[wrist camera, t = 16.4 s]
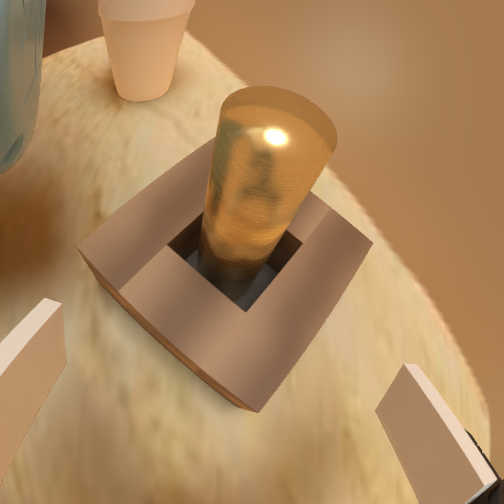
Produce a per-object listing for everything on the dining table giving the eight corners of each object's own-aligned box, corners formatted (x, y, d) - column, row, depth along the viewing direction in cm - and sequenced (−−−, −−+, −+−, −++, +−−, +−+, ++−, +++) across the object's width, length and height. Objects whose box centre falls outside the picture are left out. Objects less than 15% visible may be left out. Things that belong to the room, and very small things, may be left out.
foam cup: (199, 88, 32) (218, -12, 20) (132, 122, 28) (130, 5, 16) (152, 59, 33) (159, -29, 22) (90, 86, 29) (82, -11, 17)
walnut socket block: (99, 282, 21) (76, 246, 15) (215, 179, 27) (225, 129, 21) (236, 407, 19) (258, 412, 14) (334, 275, 25) (373, 243, 20)
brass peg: (183, 276, 21) (194, 114, 9) (220, 239, 23) (267, 75, 11) (227, 314, 21) (298, 187, 8) (262, 274, 23) (354, 131, 10)
